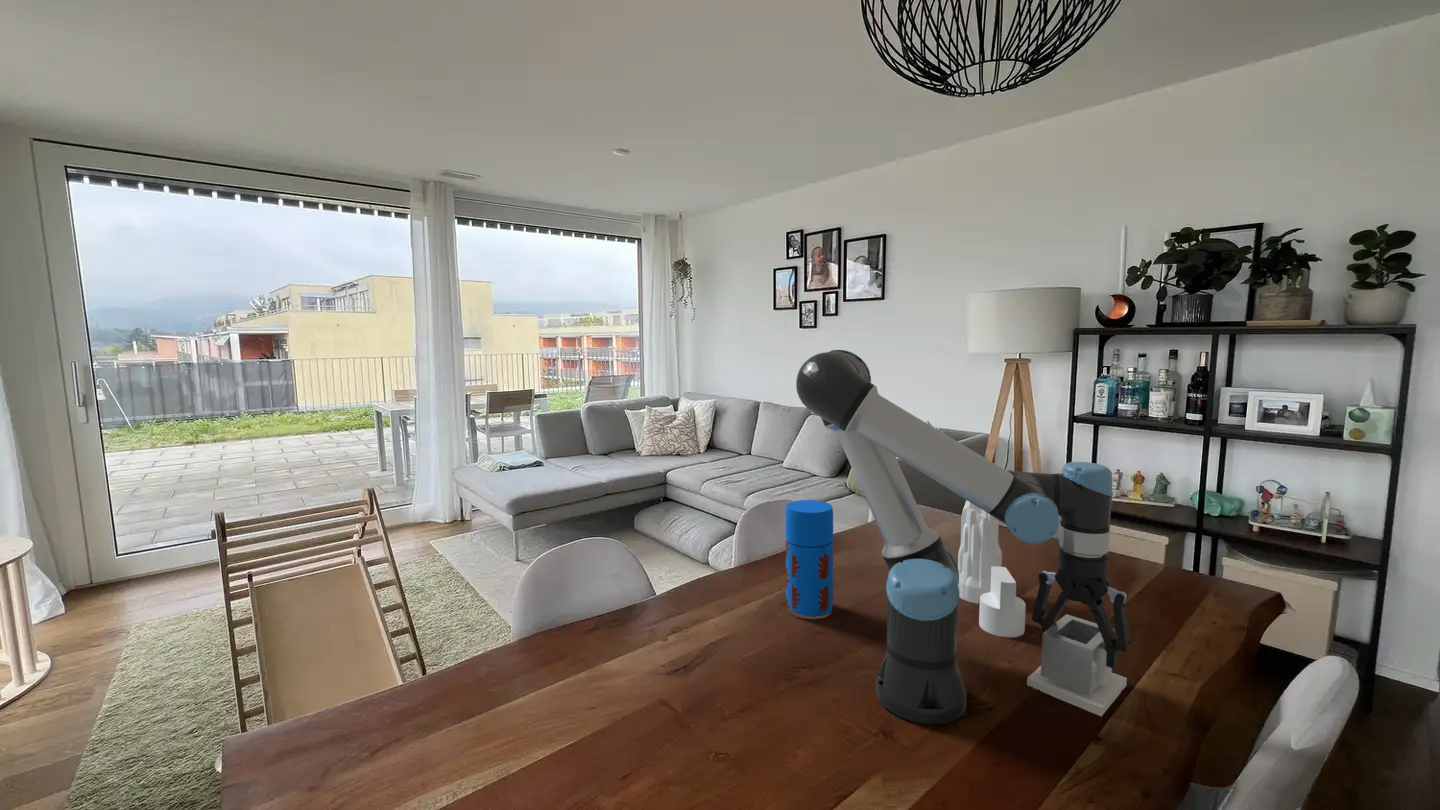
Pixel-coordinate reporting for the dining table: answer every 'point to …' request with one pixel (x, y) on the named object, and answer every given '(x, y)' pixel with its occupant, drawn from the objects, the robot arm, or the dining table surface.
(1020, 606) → the cylinder with rectangular tab
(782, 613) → the dining table surface
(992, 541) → the decorative vase
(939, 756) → the dining table surface
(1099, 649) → the steel link
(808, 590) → the thermos
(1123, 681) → the keeper board
